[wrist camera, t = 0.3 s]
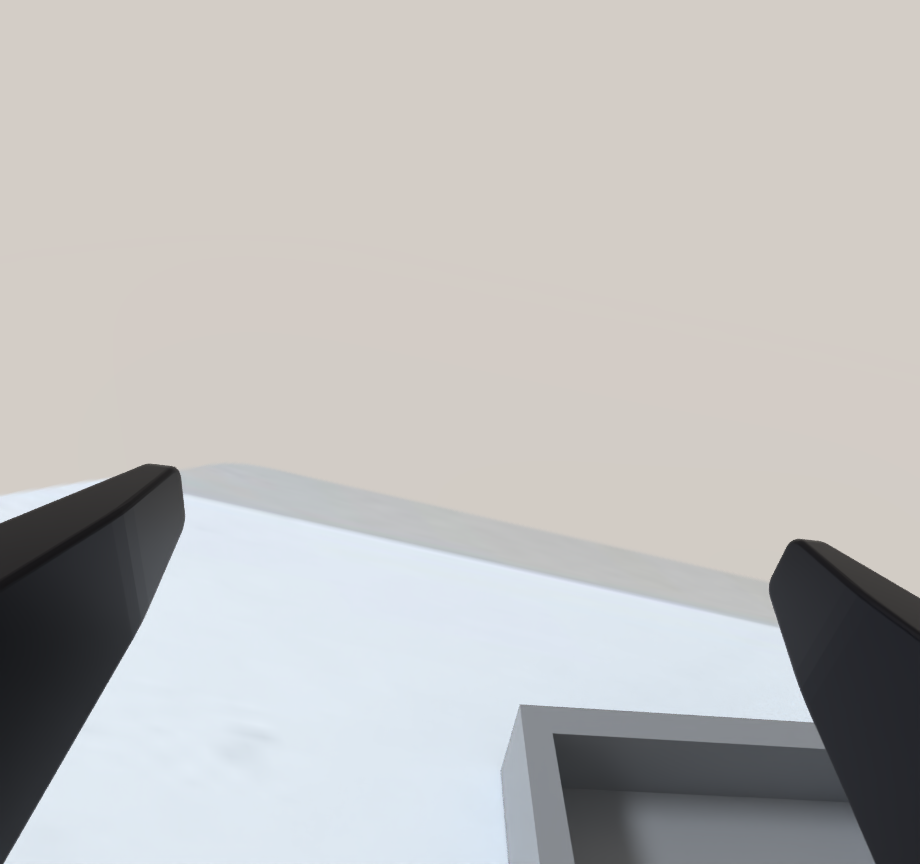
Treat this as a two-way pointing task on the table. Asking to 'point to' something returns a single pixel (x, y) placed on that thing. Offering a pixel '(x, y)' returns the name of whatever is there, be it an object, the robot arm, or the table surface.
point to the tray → (672, 791)
